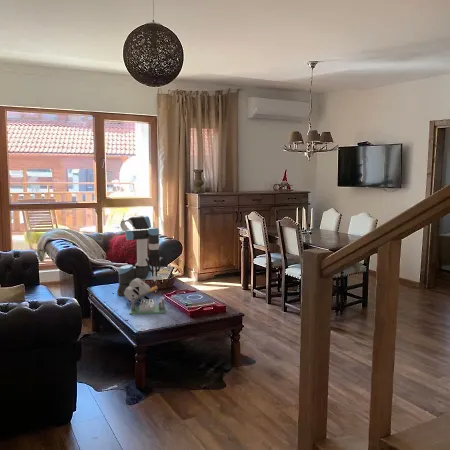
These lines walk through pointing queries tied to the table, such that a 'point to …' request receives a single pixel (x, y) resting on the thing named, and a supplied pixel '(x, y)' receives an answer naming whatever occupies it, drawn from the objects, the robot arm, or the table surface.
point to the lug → (161, 304)
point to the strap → (146, 293)
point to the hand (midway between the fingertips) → (154, 280)
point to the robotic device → (136, 290)
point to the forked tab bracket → (132, 304)
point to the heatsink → (146, 306)
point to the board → (156, 311)
